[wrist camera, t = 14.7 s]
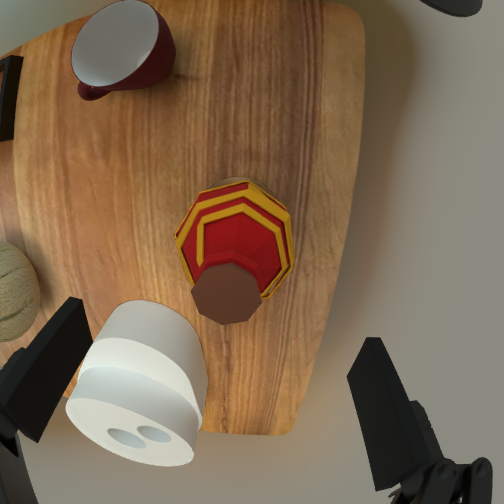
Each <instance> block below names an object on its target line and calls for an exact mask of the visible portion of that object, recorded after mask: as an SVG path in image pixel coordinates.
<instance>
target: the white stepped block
mask: <svg viewBox="0 0 504 504" xmlns="http://www.w3.org/2000/svg"><path fill="white" fill-rule="evenodd" d="M207 388H208V375H207V371H206V367H205V362H204V358H203V353H202V348H201V344H200V340H199V337H198V335H197V333H196V331H195V330H194V328H193V327H192V326H191V324H190V323H189V322H188V321H187V320H186V319H185V318H184V317H182V316H181V315H180V314H179V313H177V312H176V311H174V310H172V309H170V308H168V307H166V306H164V305H162V304H159V303H156V302H151V301H145V300H134V301H129V302H125V303H123V304H121V305H119V306H118V307H117V308H116V309H115V310H114V311H113V313H112V314H111V316H110V317H109V319H108V320H107V322H106V323H105V325H104V326H103V328H102V329H101V331H100V332H99V334H98V336H97V337H96V339H95V340H94V342H93V344H92V346H91V347H90V349H89V350H88V353H87V355H86V357H85V360H84V362H83V365H82V367H81V369H80V372H79V375H78V383H77V385H76V386H75V388H74V390H73V392H72V394H71V396H70V398H69V400H68V402H67V404H66V412H67V415H68V417H69V418H70V420H71V421H72V423H73V424H74V425H75V426H76V427H77V428H78V429H79V430H80V431H81V432H82V433H83V434H85V435H86V436H87V437H88V438H90V439H91V440H92V441H94V442H95V443H97V444H98V445H100V446H102V447H104V448H105V449H107V450H109V451H111V452H113V453H115V454H118V455H120V456H122V457H125V458H128V459H131V460H134V461H138V462H141V463H145V464H151V465H157V466H179V465H183V464H186V463H188V462H190V461H191V460H192V459H193V456H194V450H195V443H196V437H197V431H199V429H200V428H201V425H202V420H203V414H204V407H205V401H206V394H207Z"/></svg>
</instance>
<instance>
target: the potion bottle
mask: <svg viewBox="0 0 504 504" xmlns="http://www.w3.org/2000/svg"><path fill="white" fill-rule="evenodd" d="M247 183H248V185H247ZM266 196H267V197H266ZM174 235H175V239H176V242H175V243H176V246H177V250H178V253H179V256H180V260H181V263H182V266H183V269H184V272H185V276H186V279H187V282H189V283H190V284H192V285H193V286H194V287H193V289H192V290H191V293H192V296H193V298H194V301H195V304H196V306H197V309H198V311H199V313H200V314H202V315H204V316H206V317H208V318H209V319H211V320H213V321H215V322H217V323H219V324H221V325H224V324H231V323H238V322H244V321H248V319H249V318H250V317H251V316H252V315H253V313H254V312H255V311H256V310H257V308H258V307H259V306H260V305H261V304H262V302H261V299H268V298H270V297H271V295H272V294H273V293H274V292H275V290H276V289H277V288H278V286H279V285H280V284H281V283H282V281H283V280H284V279H285V278H286V276H287V275H288V274H289V273H290V271H291V270H292V268H293V264H294V261H295V255H294V246H293V238H292V229H291V221H290V214H288V213H287V210H286V207H285V206H284V205H283V204H281V203H280V202H279V201H277V200H276V199H274V198H273V197H272V196H270V195H269V194H268V193H266V192H265V191H263V190H262V189H261V188H259V187H258V186H256V185H255V184H253V183H252V182H251V181H249V180H245V181H241V182H237V183H233V184H229V185H225V186H221V187H217V188H213V189H209V190H206V191H202V192H200V193H199V195H198V196H197V198H196V199H195V201H194V203H193V204H192V206H191V208H190V209H189V211H188V212H187V214H186V216H185V217H184V219H183V221H182V222H181V224H180V226H179V227H178V229H177V231H176V232H175V234H174ZM289 263H290V265H289V266H287V265H288V264H289ZM287 267H288V268H287ZM286 268H287V269H286ZM285 269H286V271H285ZM284 271H285V272H284ZM283 272H284V274H283V275H282V277H281V278H280V280H279V281H278V283H277V285H276V286H275V288H274V289H273V291H272V292H271V293H269V294H266V293H267V292H268V290H269V289H270V288H271V287H272V285H273V284H274V283H275V282H276V281H277V279H278V278H279V277H280V276H281V274H282V273H283ZM260 293H263V294H262V295H260Z"/></svg>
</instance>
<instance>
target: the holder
mask: <svg viewBox="0 0 504 504" xmlns="http://www.w3.org/2000/svg"><path fill="white" fill-rule="evenodd" d="M23 58H24V57H21V56H14V55H10V56H8V57H6V58H4V59H2V60H0V72H2V71H4V73H3V79H2V85H1V91H0V142H1V141H6V140H11V139H13V134H14V118H15V107H16V99H17V91H18V84H19V78H20V73H21V67H22V63H23Z"/></svg>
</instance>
